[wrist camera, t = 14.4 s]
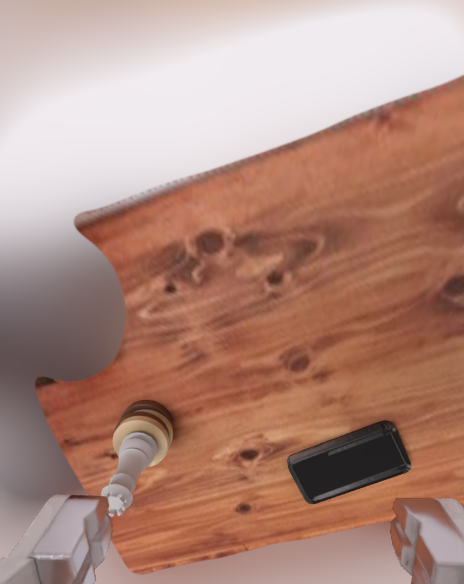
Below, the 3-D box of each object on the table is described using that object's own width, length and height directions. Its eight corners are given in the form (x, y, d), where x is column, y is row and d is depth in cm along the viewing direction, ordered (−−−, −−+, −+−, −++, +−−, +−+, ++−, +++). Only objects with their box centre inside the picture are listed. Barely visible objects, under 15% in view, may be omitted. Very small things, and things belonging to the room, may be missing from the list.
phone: (413, 470, 38) (308, 506, 40) (408, 463, 39) (306, 498, 41) (394, 423, 37) (285, 464, 39) (389, 417, 38) (284, 457, 40)
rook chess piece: (151, 464, 37) (126, 529, 29) (118, 452, 36) (84, 514, 29) (163, 437, 36) (140, 497, 28) (129, 424, 35) (97, 481, 28)
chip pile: (185, 416, 39) (179, 436, 35) (161, 456, 41) (154, 478, 37) (135, 391, 38) (124, 408, 35) (113, 432, 40) (100, 453, 37)
